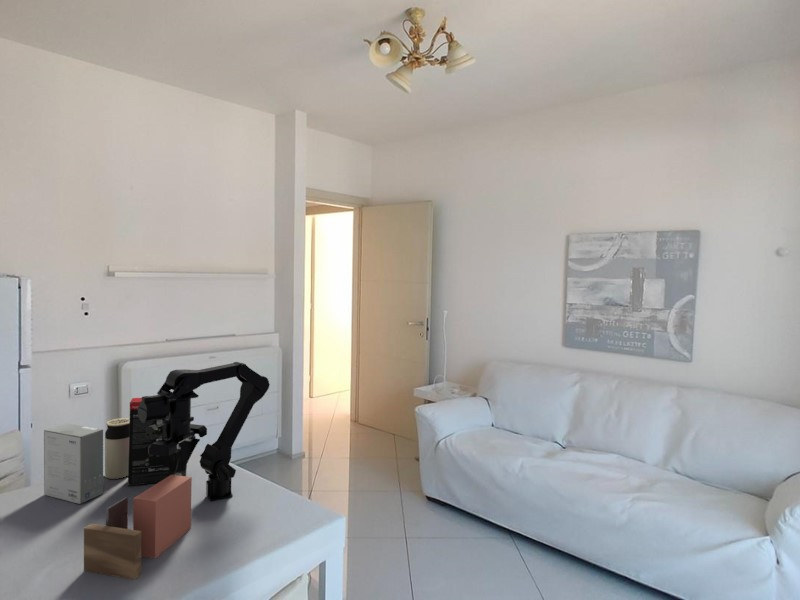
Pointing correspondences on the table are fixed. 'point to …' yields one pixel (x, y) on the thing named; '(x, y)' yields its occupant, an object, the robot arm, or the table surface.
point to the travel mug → (117, 448)
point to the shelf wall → (112, 551)
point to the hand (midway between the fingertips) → (179, 468)
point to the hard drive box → (73, 462)
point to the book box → (163, 514)
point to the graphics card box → (146, 452)
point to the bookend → (118, 514)
